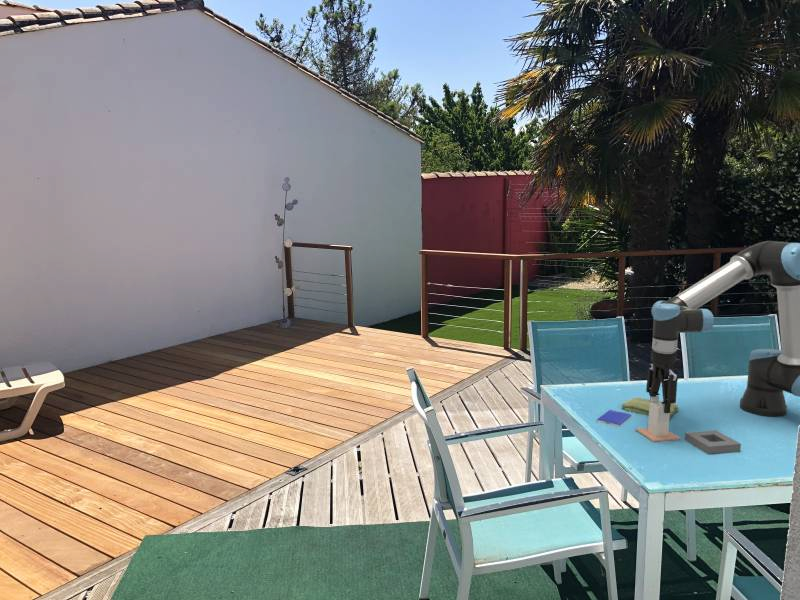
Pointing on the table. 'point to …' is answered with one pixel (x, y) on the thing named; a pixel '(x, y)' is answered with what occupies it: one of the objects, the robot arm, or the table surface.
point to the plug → (657, 421)
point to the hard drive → (614, 418)
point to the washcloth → (644, 406)
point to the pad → (657, 438)
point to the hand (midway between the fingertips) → (658, 418)
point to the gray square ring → (712, 442)
